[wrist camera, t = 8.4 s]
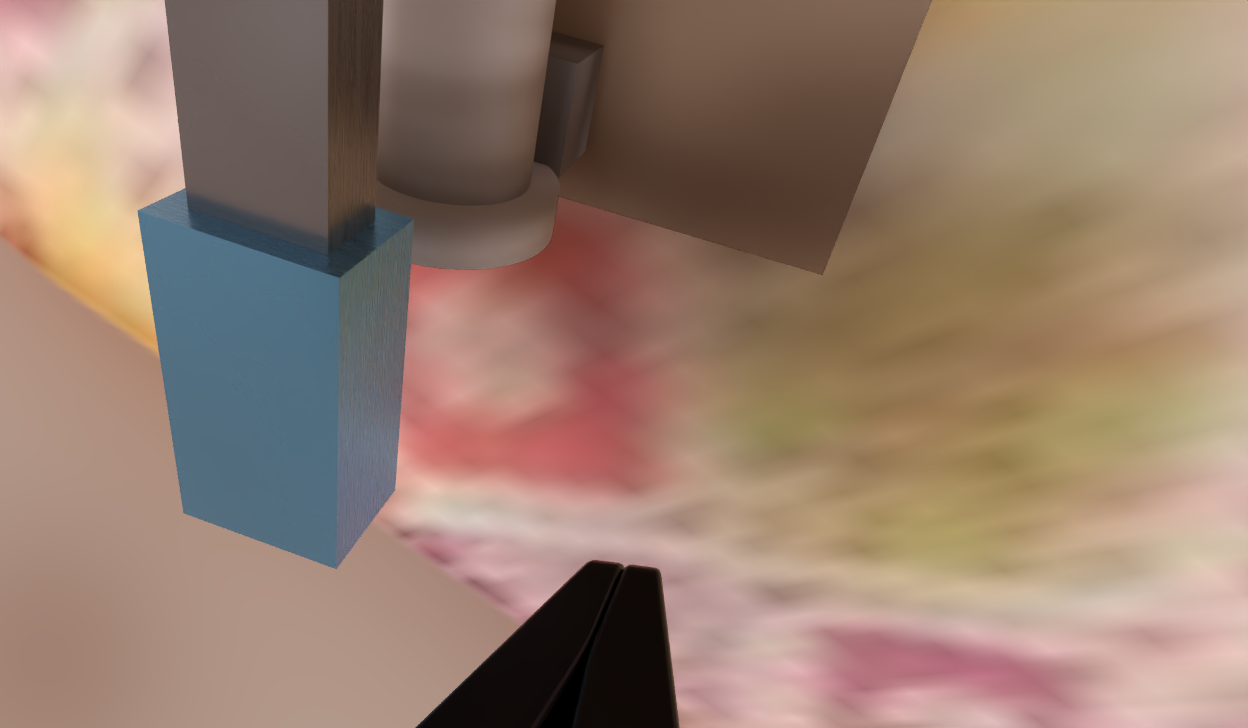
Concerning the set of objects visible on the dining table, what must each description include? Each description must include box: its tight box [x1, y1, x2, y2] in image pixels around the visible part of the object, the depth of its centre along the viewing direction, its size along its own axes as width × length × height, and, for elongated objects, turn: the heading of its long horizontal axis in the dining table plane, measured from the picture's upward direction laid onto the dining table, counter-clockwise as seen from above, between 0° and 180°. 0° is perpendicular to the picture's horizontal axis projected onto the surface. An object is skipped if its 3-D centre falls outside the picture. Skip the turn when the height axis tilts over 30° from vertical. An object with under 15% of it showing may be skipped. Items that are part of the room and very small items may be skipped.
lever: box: [138, 0, 414, 569], centre depth 10 cm, size 15×3×2 cm, turn 167°
